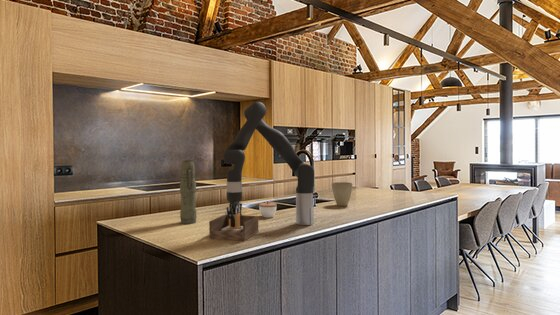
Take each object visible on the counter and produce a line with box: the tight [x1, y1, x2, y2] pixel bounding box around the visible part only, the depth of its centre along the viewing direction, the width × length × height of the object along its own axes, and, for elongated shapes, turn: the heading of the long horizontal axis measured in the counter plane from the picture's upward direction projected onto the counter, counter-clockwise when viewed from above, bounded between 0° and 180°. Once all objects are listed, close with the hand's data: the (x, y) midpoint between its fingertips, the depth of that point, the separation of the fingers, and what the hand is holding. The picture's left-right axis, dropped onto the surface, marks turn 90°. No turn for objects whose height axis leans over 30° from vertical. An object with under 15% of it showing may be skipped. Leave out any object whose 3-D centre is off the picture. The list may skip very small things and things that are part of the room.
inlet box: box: [208, 213, 259, 242], centre depth 184 cm, size 18×18×8 cm
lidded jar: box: [258, 201, 278, 219], centre depth 229 cm, size 11×11×9 cm
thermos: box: [179, 160, 198, 225], centre depth 213 cm, size 9×12×35 cm
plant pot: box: [331, 181, 354, 207], centre depth 270 cm, size 15×15×16 cm
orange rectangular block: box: [229, 213, 240, 229], centre depth 184 cm, size 4×4×8 cm
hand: (234, 225), depth 184 cm, fingers closed on orange rectangular block, 3 cm apart
